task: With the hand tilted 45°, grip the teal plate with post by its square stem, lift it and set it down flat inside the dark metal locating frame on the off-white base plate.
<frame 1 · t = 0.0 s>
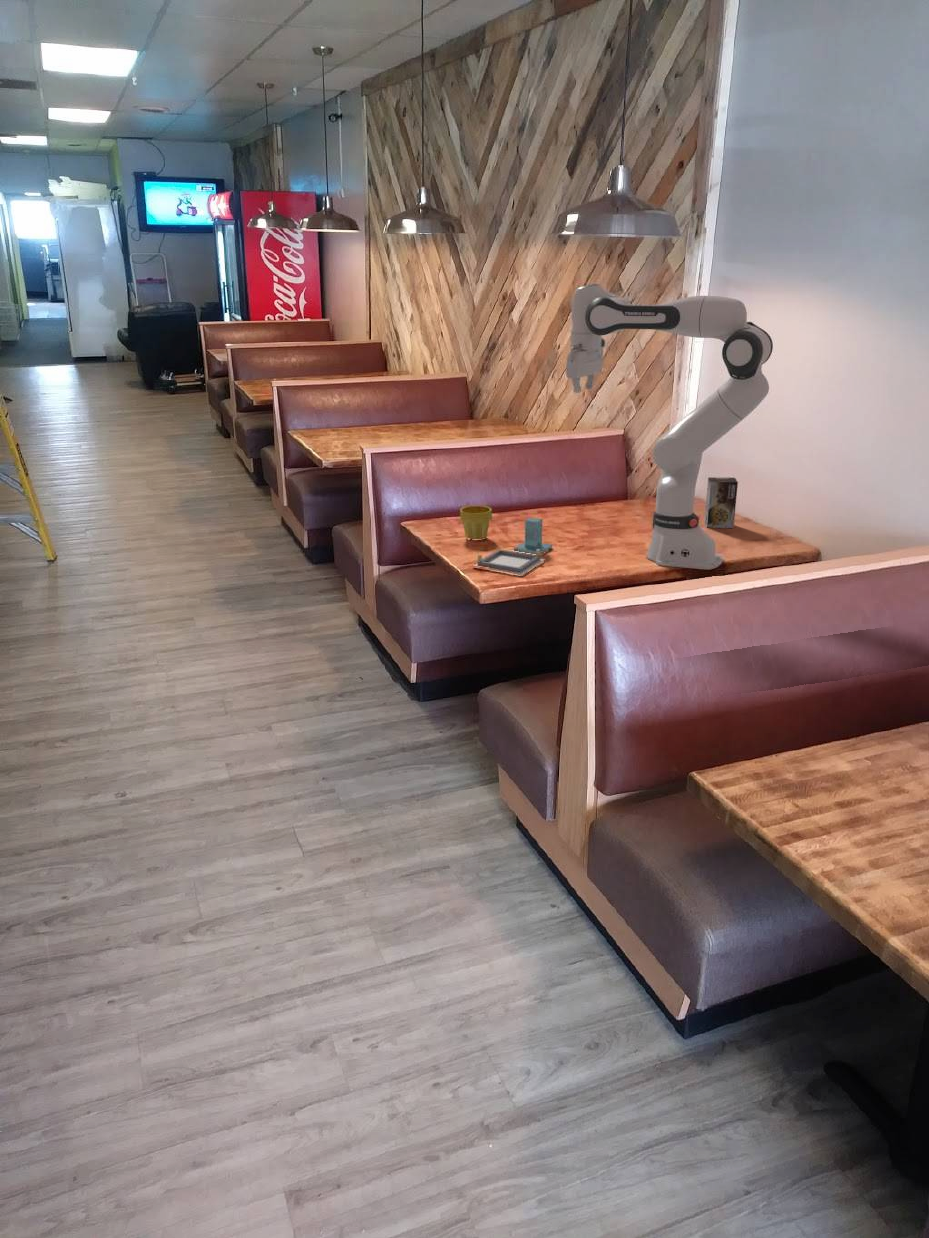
hand: (583, 390, 273), 48 cm above the table, tool pointing down, fingers open, 8 cm apart
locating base: (509, 565, 271), on the table
teal plate with post: (533, 550, 284), on the table
plant pot: (476, 538, 297), on the table
coffee box: (718, 526, 309), on the table
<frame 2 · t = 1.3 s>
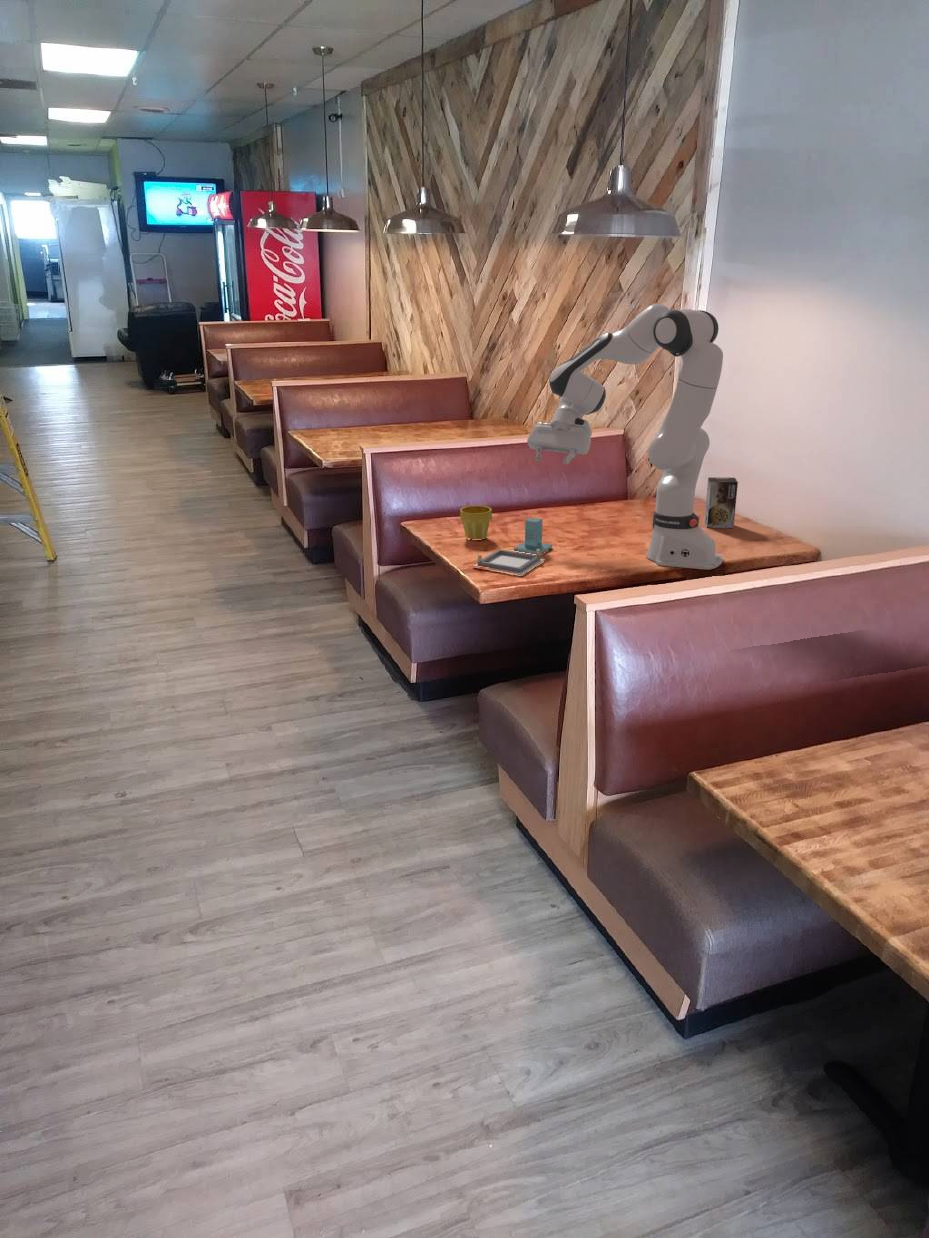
hand: (551, 461, 285), 26 cm above the table, tool tilted 45°, fingers open, 8 cm apart
nothing on the table moved.
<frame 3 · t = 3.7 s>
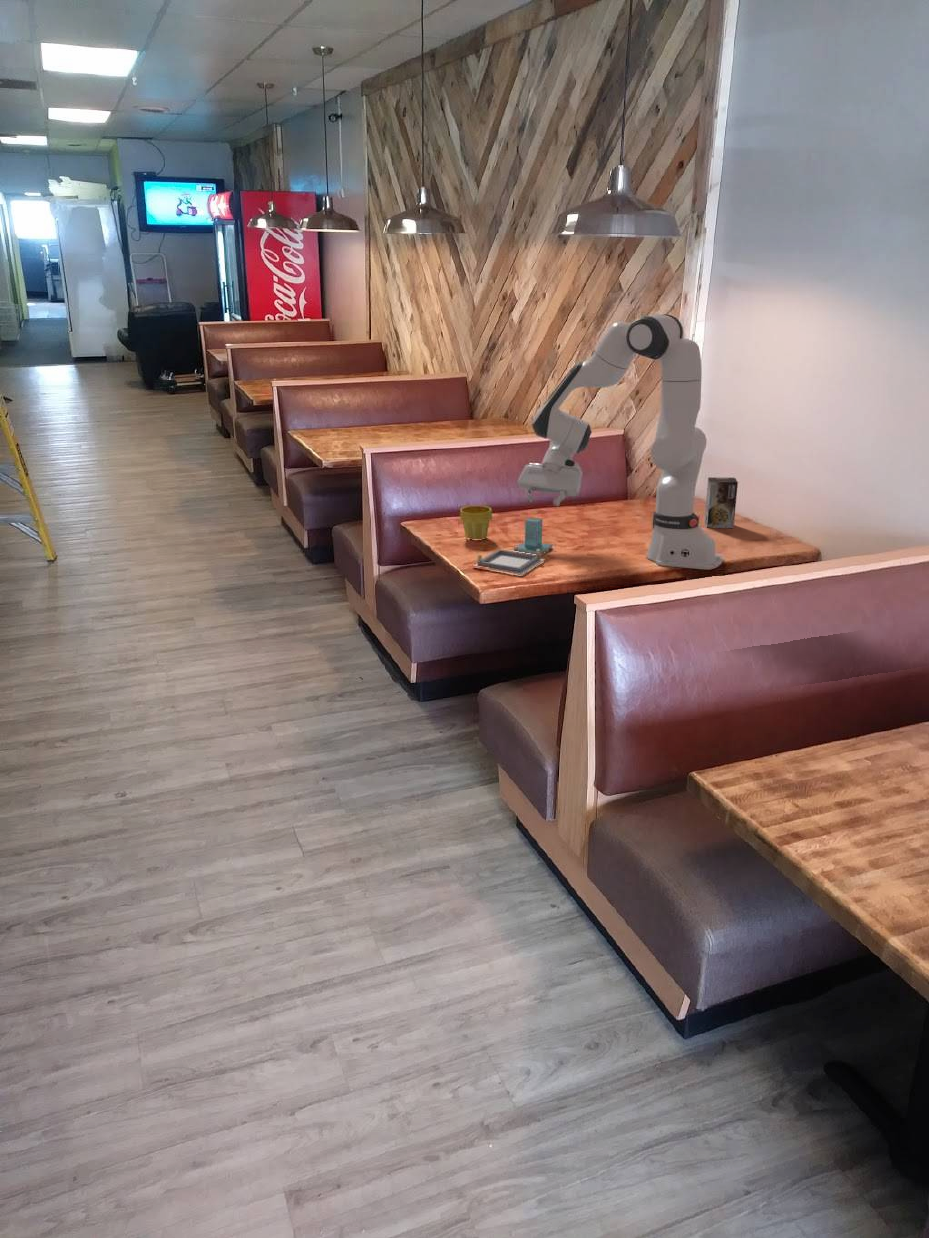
hand: (541, 502, 284), 14 cm above the table, tool tilted 45°, fingers open, 8 cm apart
nothing on the table moved.
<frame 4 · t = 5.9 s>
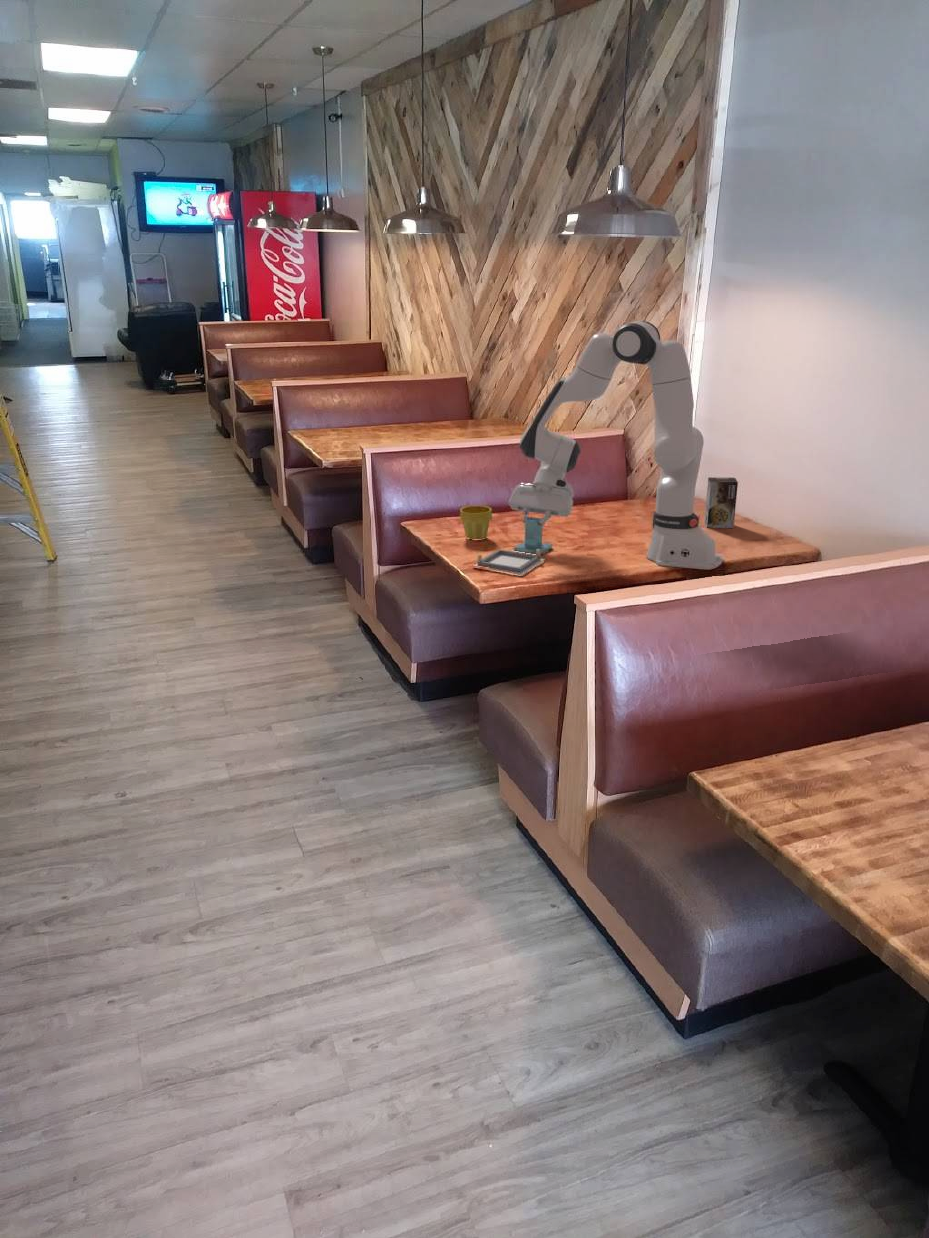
hand: (533, 523, 281), 9 cm above the table, tool tilted 45°, fingers closed on teal plate with post, 4 cm apart
teal plate with post: (533, 550, 284), on the table, touching gripper
everything else where it was.
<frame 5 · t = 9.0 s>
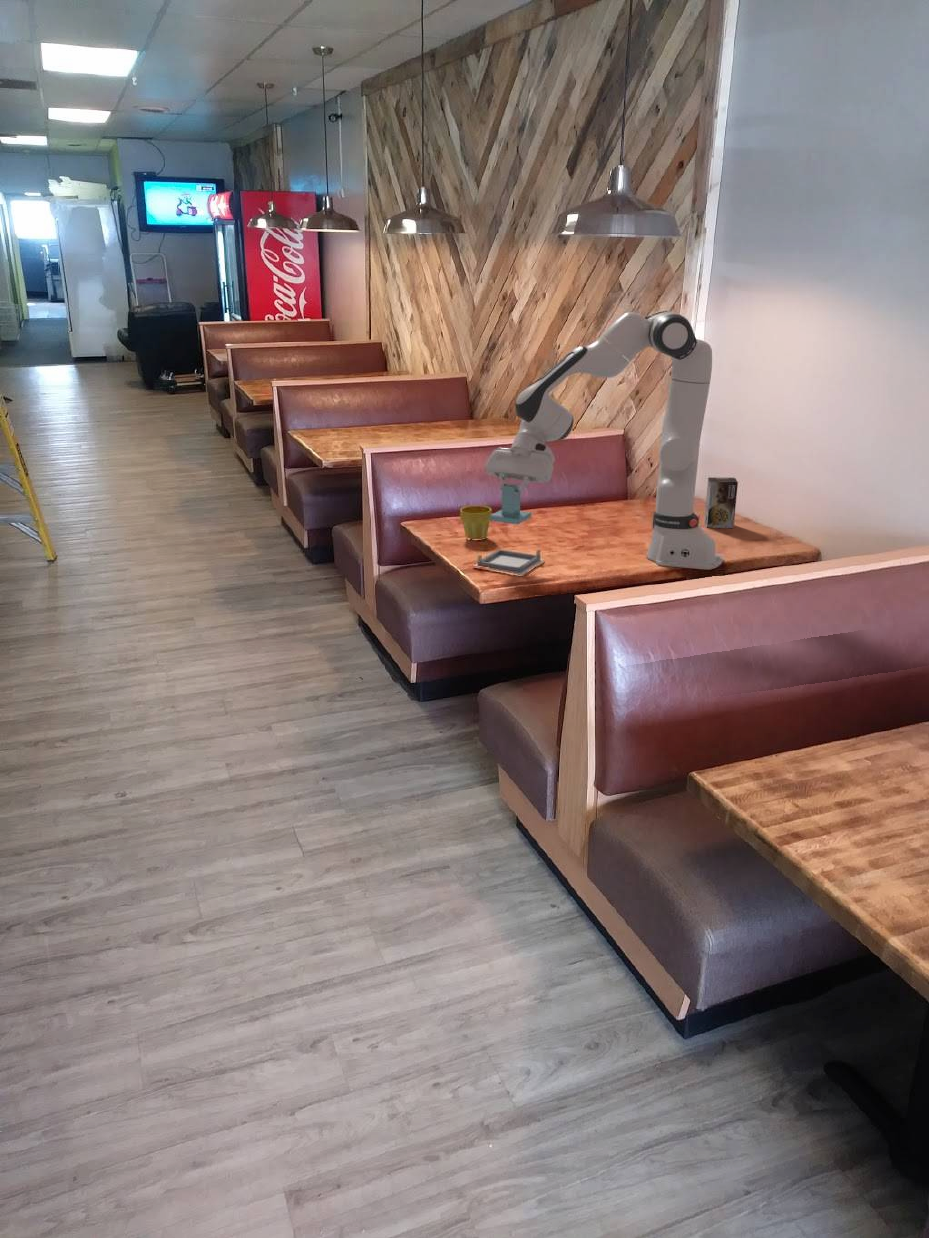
hand: (510, 490, 263), 23 cm above the table, tool tilted 45°, fingers closed on teal plate with post, 4 cm apart
teal plate with post: (510, 518, 267), point 14 cm above the table, touching gripper
everything else where it was.
when the fingers open (11 cm above the table, at t = 12.4 s): teal plate with post stays where it is, resting on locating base.
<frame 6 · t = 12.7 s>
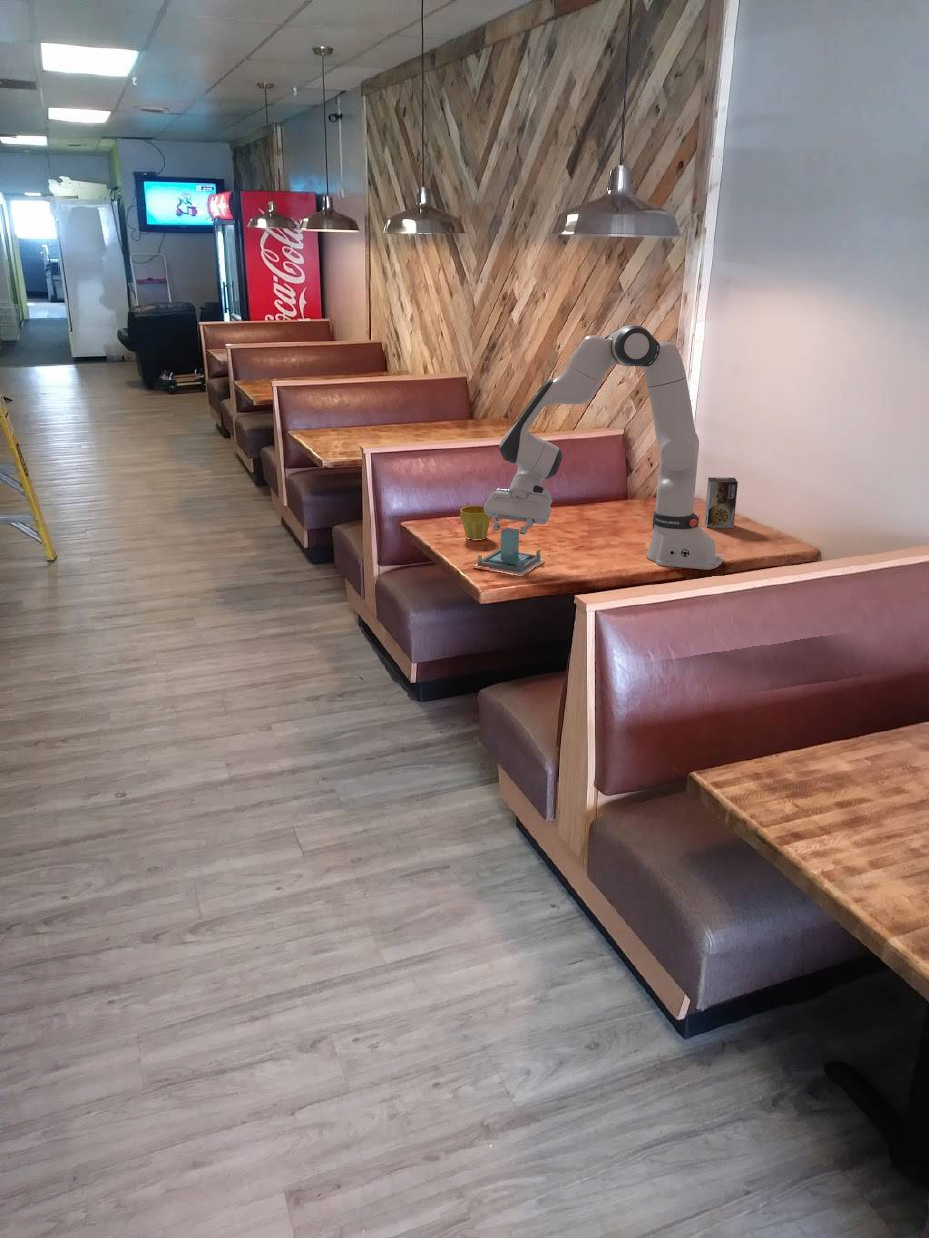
hand: (508, 531, 266), 11 cm above the table, tool tilted 45°, fingers open, 7 cm apart
teal plate with post: (509, 562, 270), point 1 cm above the table, touching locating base
everything else where it was.
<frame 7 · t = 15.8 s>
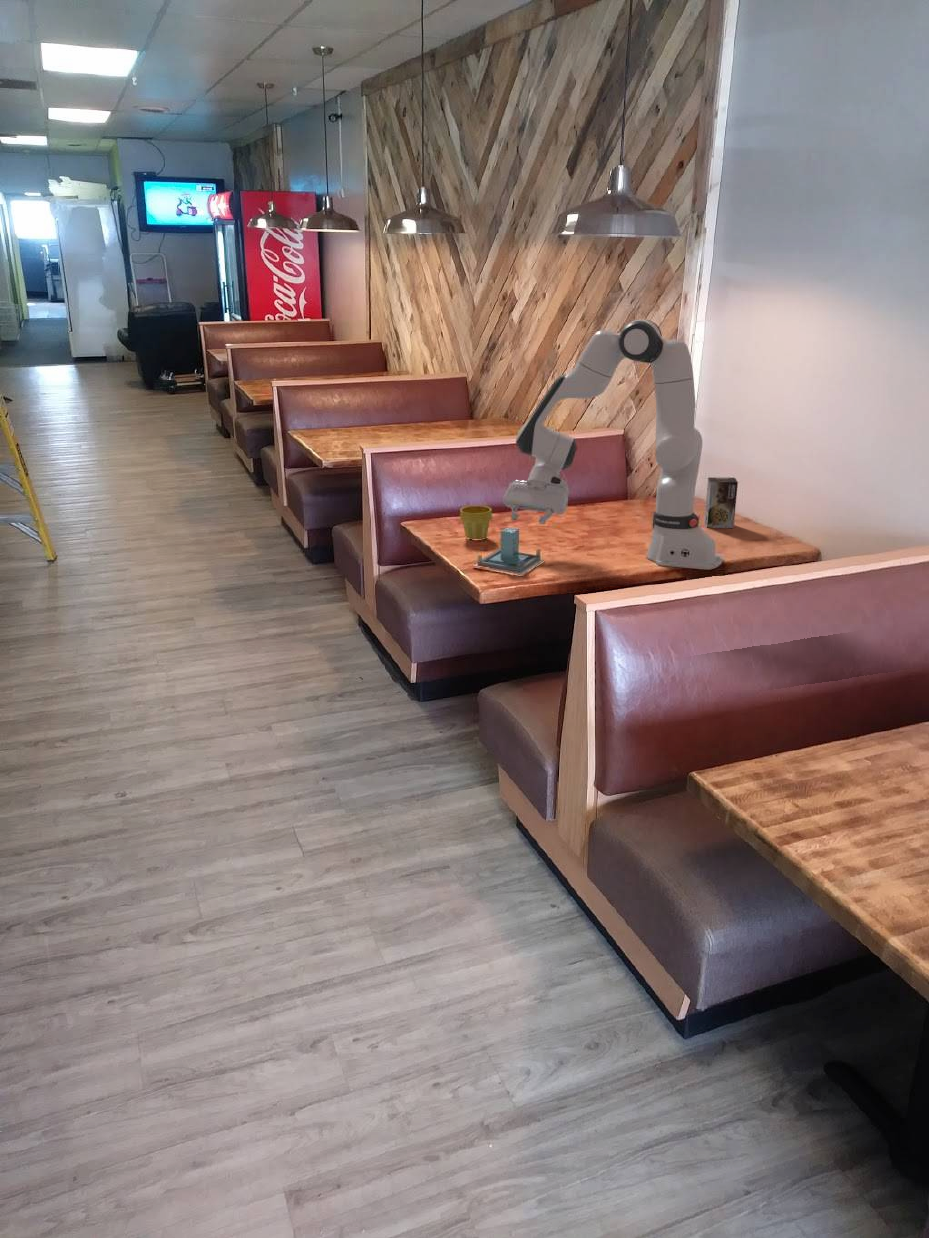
hand: (527, 521, 277), 11 cm above the table, tool tilted 45°, fingers open, 8 cm apart
nothing on the table moved.
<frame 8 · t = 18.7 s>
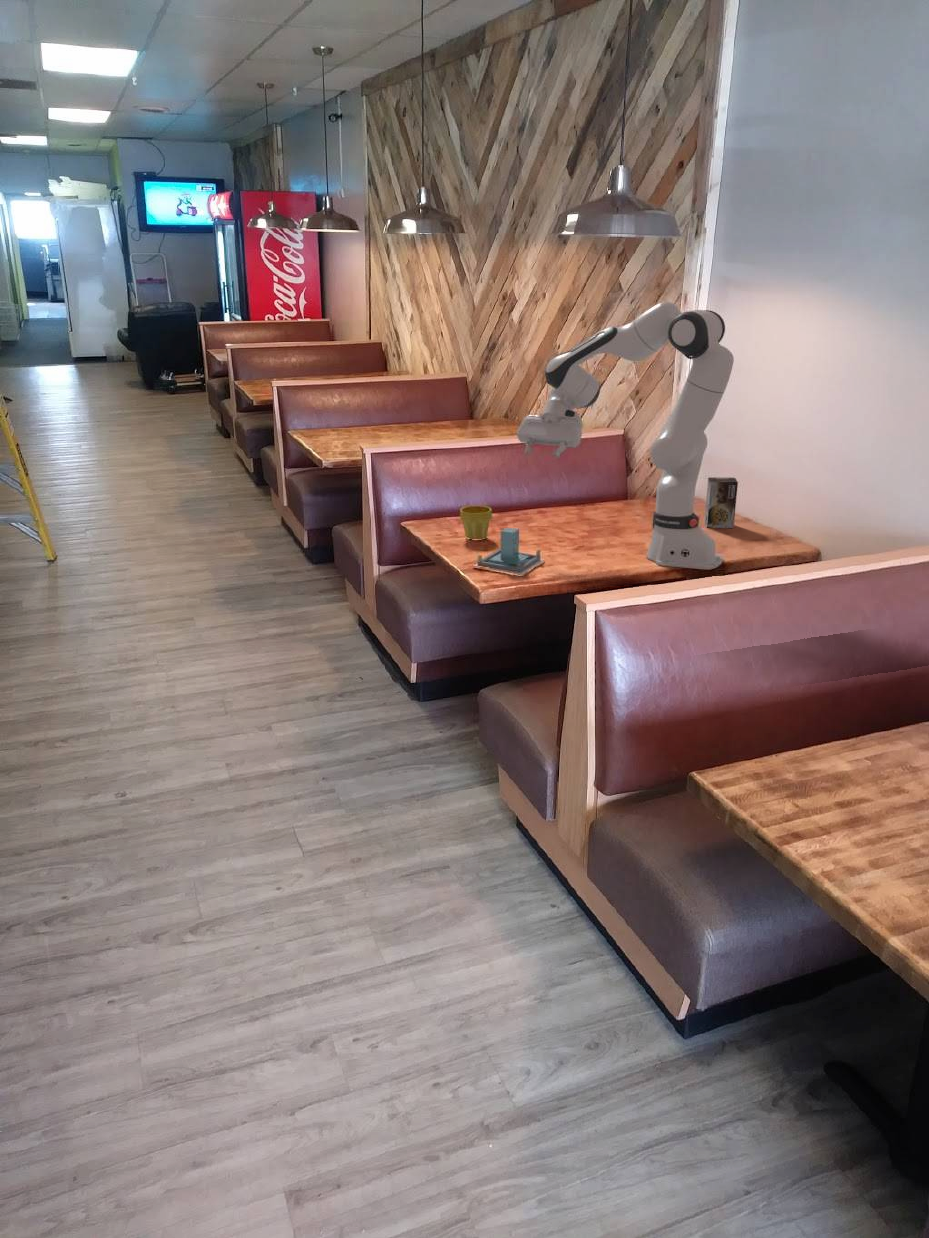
hand: (541, 454, 277), 29 cm above the table, tool tilted 45°, fingers open, 8 cm apart
nothing on the table moved.
at the end: teal plate with post 0.1 cm off-centre on the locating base, point 0.8 cm above the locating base's base; teal plate with post tilted 0°; the gripper is holding nothing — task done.
